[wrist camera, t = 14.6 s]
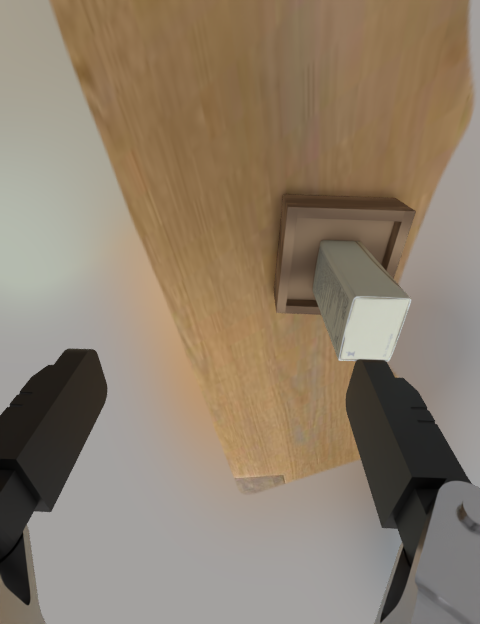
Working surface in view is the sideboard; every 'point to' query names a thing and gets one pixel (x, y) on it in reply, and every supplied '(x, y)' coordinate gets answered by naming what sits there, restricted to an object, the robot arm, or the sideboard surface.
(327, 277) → the skincare box
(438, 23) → the sideboard surface
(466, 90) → the sideboard surface
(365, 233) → the brown wooden tray
